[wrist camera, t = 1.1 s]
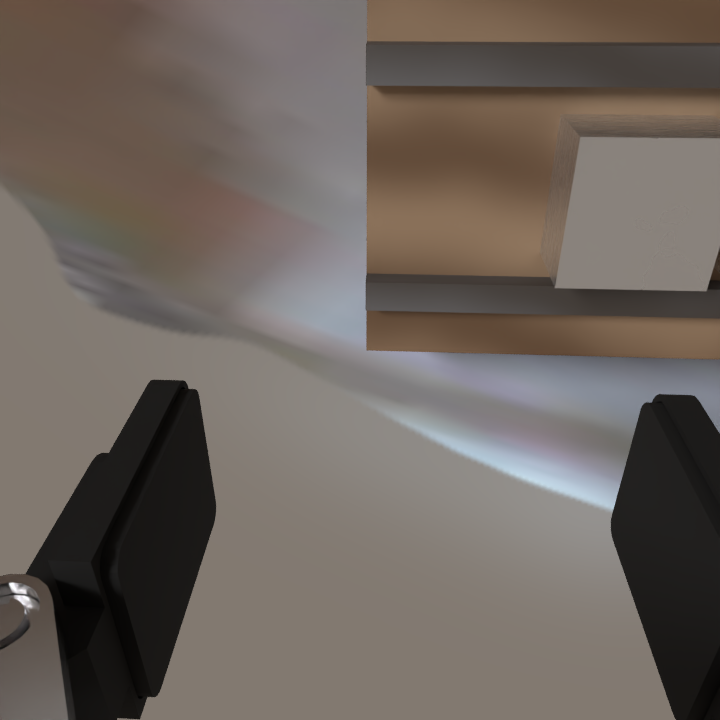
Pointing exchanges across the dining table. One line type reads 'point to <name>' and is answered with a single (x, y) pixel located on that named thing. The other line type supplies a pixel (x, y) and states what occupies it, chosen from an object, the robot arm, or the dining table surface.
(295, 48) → the dining table surface
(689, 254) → the chip
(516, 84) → the slot board
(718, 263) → the chip
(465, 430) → the dining table surface
